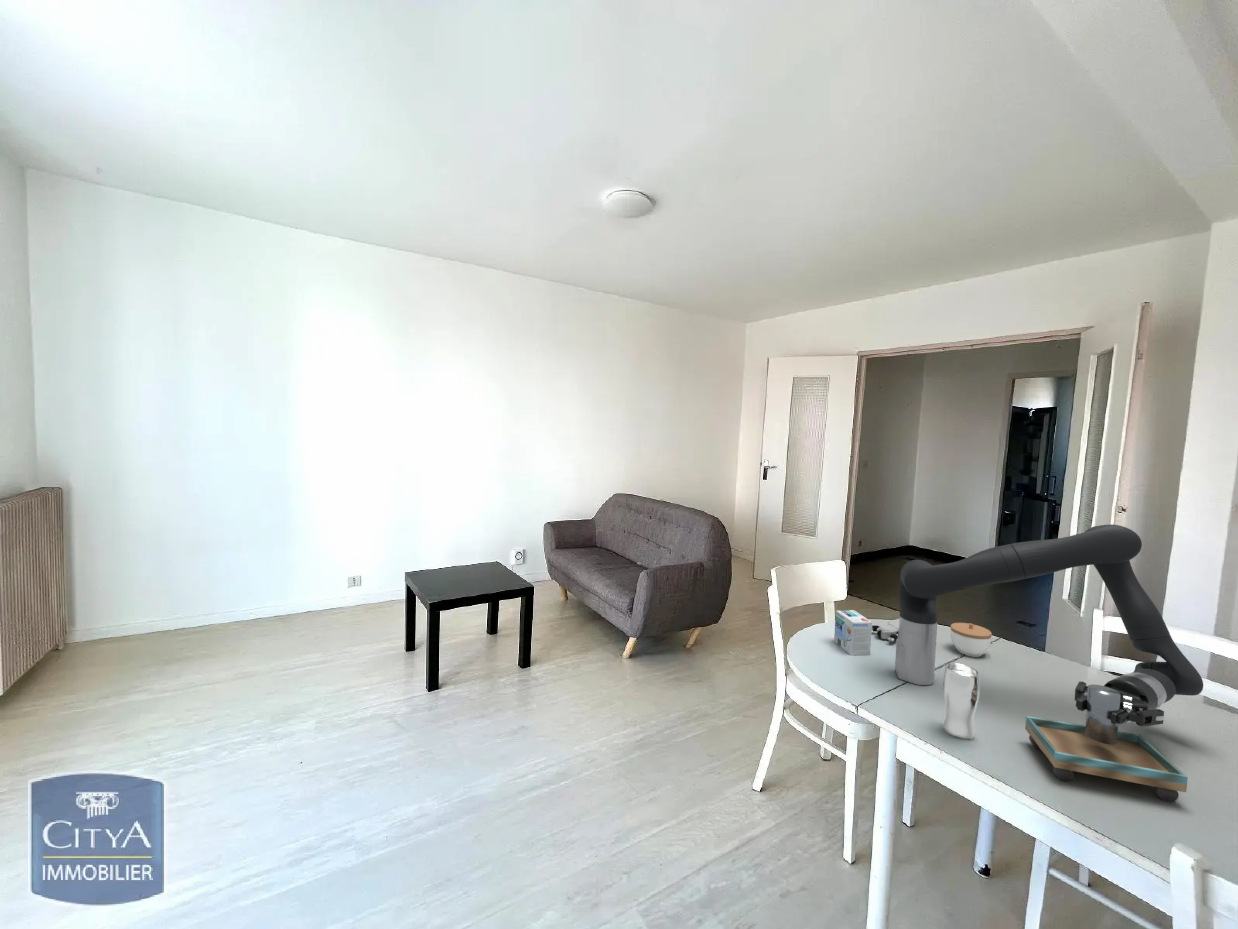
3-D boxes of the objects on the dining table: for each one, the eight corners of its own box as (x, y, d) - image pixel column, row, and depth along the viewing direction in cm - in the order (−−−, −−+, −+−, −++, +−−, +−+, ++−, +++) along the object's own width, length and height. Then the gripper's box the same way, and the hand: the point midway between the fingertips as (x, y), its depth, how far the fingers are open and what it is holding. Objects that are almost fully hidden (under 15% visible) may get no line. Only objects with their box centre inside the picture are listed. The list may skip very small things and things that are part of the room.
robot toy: (891, 650, 164) (929, 642, 168) (891, 636, 164) (929, 629, 167) (864, 635, 176) (900, 628, 180) (864, 622, 175) (900, 615, 179)
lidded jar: (964, 643, 167) (965, 616, 167) (998, 657, 157) (1000, 628, 157) (941, 648, 164) (943, 620, 163) (974, 662, 154) (976, 632, 153)
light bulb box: (833, 641, 168) (834, 609, 167) (852, 641, 168) (854, 609, 168) (850, 656, 157) (852, 622, 156) (871, 655, 158) (873, 621, 157)
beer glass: (977, 744, 113) (982, 679, 112) (941, 734, 117) (944, 671, 116) (975, 729, 119) (979, 667, 118) (940, 720, 123) (944, 660, 122)
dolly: (1053, 781, 101) (1055, 753, 101) (1024, 741, 114) (1026, 716, 114) (1184, 807, 95) (1187, 777, 94) (1137, 761, 108) (1139, 734, 107)
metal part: (1092, 741, 103) (1095, 694, 102) (1080, 728, 107) (1083, 683, 106) (1122, 746, 101) (1126, 698, 100) (1108, 733, 105) (1111, 686, 105)
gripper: (1094, 663, 116) (1054, 678, 109) (1183, 692, 103) (1146, 712, 96) (1091, 694, 116) (1052, 712, 109) (1180, 728, 104) (1143, 750, 96)
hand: (1096, 712), depth 102 cm, fingers closed on metal part, 4 cm apart
